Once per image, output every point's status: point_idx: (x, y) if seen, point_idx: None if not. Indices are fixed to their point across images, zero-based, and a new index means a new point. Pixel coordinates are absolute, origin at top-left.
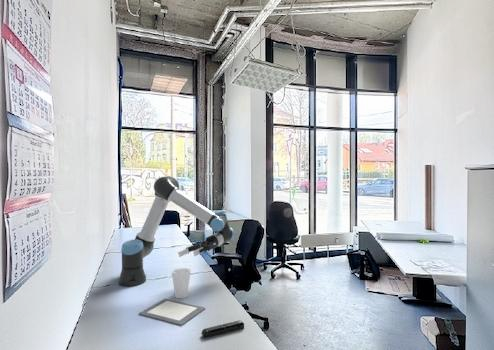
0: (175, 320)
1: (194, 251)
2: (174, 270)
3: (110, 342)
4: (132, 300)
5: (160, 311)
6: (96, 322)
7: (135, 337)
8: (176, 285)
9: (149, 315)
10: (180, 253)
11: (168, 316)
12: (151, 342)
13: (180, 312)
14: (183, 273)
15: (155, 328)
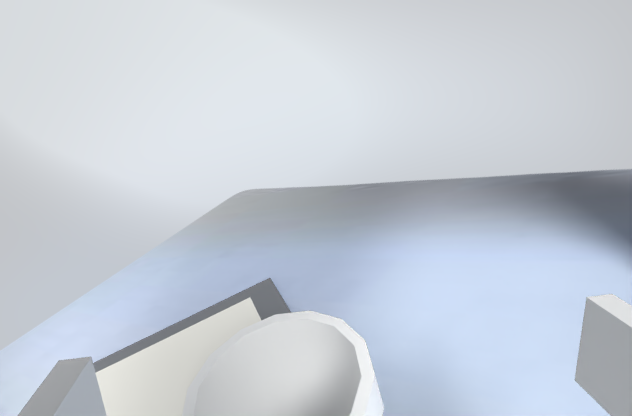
0: (102, 368)
1: (55, 377)
2: (343, 338)
3: (187, 232)
4: (423, 271)
5: (213, 336)
6: (309, 206)
7: (153, 269)
8: (287, 404)
9: (223, 302)
10: (601, 346)
11: (149, 352)
12: (95, 294)
13: (127, 405)
14: (196, 377)
15: (140, 311)
